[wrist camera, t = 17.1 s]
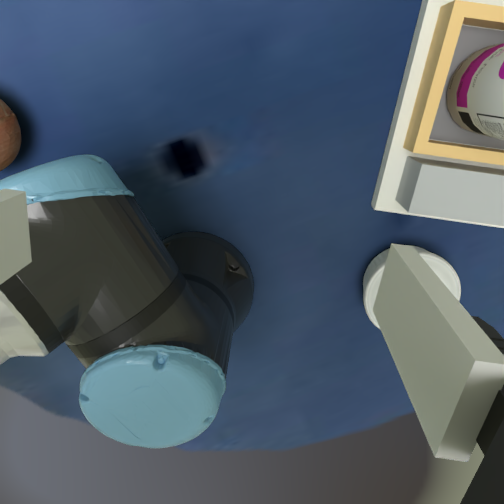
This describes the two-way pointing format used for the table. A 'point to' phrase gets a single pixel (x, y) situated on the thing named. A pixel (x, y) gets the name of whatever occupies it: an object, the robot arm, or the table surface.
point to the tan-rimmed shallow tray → (443, 124)
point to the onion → (8, 136)
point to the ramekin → (377, 268)
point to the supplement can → (479, 92)
